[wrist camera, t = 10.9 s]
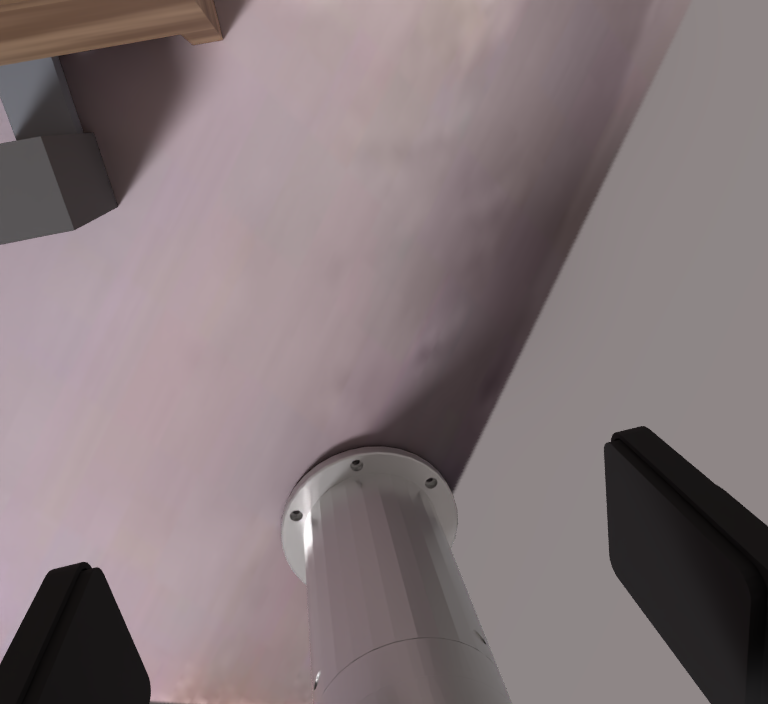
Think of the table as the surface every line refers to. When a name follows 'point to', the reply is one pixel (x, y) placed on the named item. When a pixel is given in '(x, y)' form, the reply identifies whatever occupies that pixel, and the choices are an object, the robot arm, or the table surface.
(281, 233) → the table surface
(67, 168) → the blade tool
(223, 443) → the table surface
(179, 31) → the cabinet
